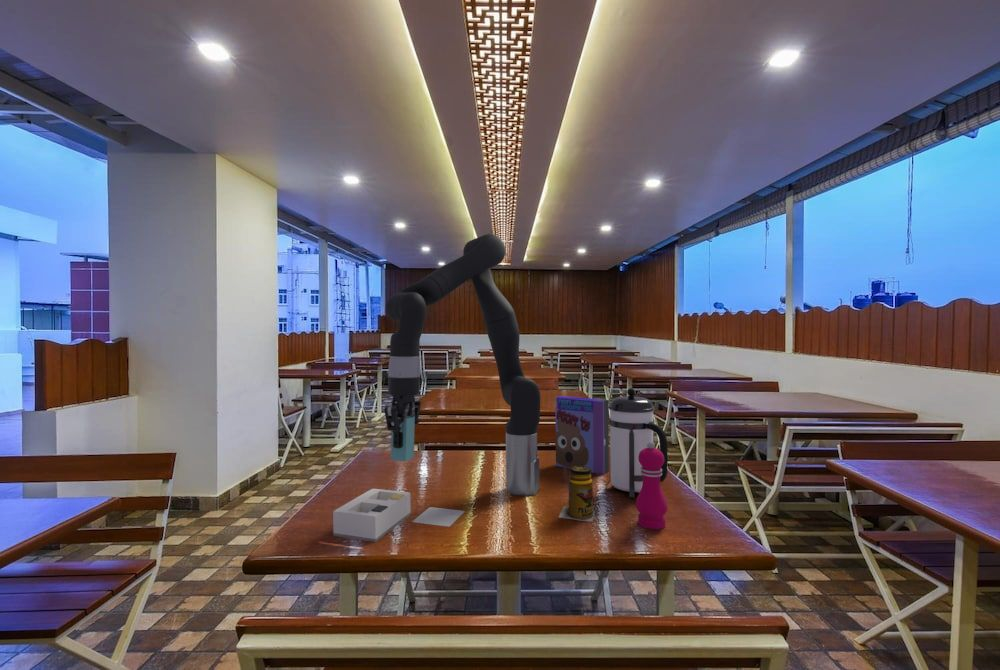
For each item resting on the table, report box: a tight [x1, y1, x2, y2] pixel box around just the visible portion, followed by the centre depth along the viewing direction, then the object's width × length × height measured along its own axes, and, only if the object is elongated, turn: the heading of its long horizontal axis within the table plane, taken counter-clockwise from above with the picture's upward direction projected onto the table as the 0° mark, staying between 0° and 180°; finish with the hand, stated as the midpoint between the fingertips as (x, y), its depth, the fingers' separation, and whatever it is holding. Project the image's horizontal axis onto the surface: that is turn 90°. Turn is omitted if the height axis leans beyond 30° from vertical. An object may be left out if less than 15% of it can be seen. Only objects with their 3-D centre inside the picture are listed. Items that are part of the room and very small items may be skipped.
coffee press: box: [605, 388, 669, 500], centre depth 134 cm, size 17×16×30 cm
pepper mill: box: [635, 441, 668, 530], centre depth 112 cm, size 7×7×20 cm
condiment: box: [558, 466, 596, 523], centre depth 118 cm, size 7×8×12 cm
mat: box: [411, 506, 465, 528], centre depth 117 cm, size 10×10×1 cm
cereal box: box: [554, 395, 610, 476], centre depth 157 cm, size 17×5×24 cm, turn 55°
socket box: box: [332, 488, 411, 543], centre depth 112 cm, size 11×16×6 cm
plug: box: [390, 416, 415, 463], centre depth 112 cm, size 4×4×10 cm
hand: (402, 445), depth 112 cm, fingers closed on plug, 4 cm apart
